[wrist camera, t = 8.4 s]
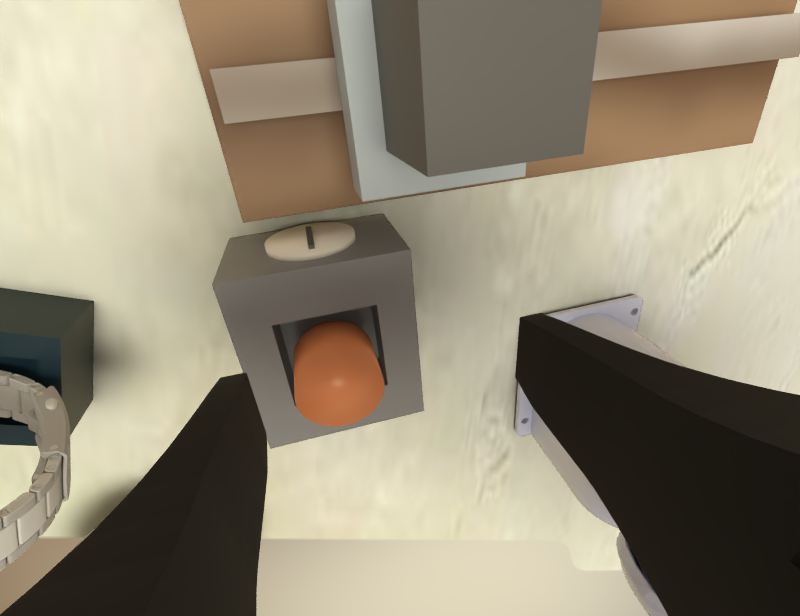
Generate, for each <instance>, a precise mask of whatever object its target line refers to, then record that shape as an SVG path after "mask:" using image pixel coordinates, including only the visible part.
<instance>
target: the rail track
mask: <svg viewBox="0 0 800 616" xmlns="http://www.w3.org/2000/svg"><path fill="white" fill-rule="evenodd" d="M179 2H180V6H181V9H182V12H183V16H184V19H185V23H186V26H187V30H188V33H189V37H190V40H191V44H192V47H193V50H194V54H195V57H196V61H197V64H198V68H199V71H200V75H201V78H202V82H203V85H204V88H205V92H206V95H207V99H208V102H209V106H210V109H211V113H212V116H213V119H214V123H215V126H216V130H217V133H218V137H219V140H220V144H221V147H222V151H223V154H224V157H225V161H226V164H227V168H228V171H229V175H230V178H231V182H232V185H233V189H234V192H235V195H236V199H237V202H238V206H239V209H240V213H241V216H242V220H243V223H244V222H250V221H257V220H263V219H269V218H276V217H282V216H289V215H295V214H301V213H308V212H314V211H321V210H327V209H333V208H340V207H346V206H352V205H359V204H365V203H372V202H378V201H384V200H391V199H397V198H404V197H410V196H416V195H423V194H429V193H435V192H442V191H448V190H455V189H461V188H467V187H474V186H480V185H487V184H493V183H499V182H506V181H512V180H518V179H525V178H531V177H538V176H544V175H550V174H557V173H563V172H570V171H576V170H582V169H589V168H595V167H601V166H608V165H614V164H621V163H627V162H633V161H640V160H646V159H653V158H659V157H665V156H672V155H678V154H684V153H691V152H697V151H704V150H710V149H716V148H723V147H729V146H736V145H742V144H748V143H753V140H754V137H755V134H756V131H757V127H758V124H759V121H760V118H761V115H762V111H763V108H764V105H765V102H766V99H767V95H768V92H769V89H770V86H771V83H772V80H773V76H774V73H775V70H776V67H777V64H778V60H779V59H783V58H792V57H799V54H800V13H794V9H795V6H796V3H797V0H602V7H601V15H600V23H599V31H598V39H597V47H596V55H595V64H594V72H593V80H592V88H591V96H590V104H589V112H588V120H587V128H586V136H585V145H584V153H583V154H580V155H573V156H566V157H560V158H553V159H546V160H539V161H533V162H526V174H525V177H519V178H512V179H506V180H499V181H493V182H487V183H480V184H474V185H467V186H461V187H455V188H448V189H442V190H435V191H429V192H422V193H416V194H410V195H403V196H397V197H390V198H384V199H377V200H371V201H365V202H362V200H361V199H360V197H359V196H358V194H357V193H356V191H355V190H354V185H353V178H352V171H351V164H350V157H349V150H348V143H347V137H346V130H345V123H344V116H343V109H342V102H341V95H340V88H339V82H338V75H337V68H336V61H335V54H334V47H333V40H332V33H331V27H330V20H329V13H328V6H327V0H179ZM793 13H794V14H793Z"/></svg>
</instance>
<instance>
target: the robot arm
mask: <svg viewBox="0 0 800 616" xmlns="http://www.w3.org/2000/svg"><path fill="white" fill-rule="evenodd" d="M642 303H643V300H642V298H640V297H639V296H637V295H632V296H628V297H623V298H619V299H614V300H609V301H605V302H600V303H596V304H591V305H586V306H582V307H577V308H573V309H568V310H564V311H559V312H554V313H550V314H542V313H539V314H534V315H529V316H524V317H520V324H519V337H518V350H517V362H516V375H515V377H516V379H517V381H518V391H517V406H516V422H515V432H516V433H517V435H518V436H526V435H529V434H532V436H533V437H534V438H535V440H536V441H537V443H538V444H539V445H540V447H541V448H542V450H543V451H544V453H545V454H546V455H547V457H548V458H549V460H550V461H551V462H552V464H553V465H554V467H555V468H556V470H557V471H558V472H559V474H560V475H561V477H562V478H563V479H564V481H565V482H566V484H567V485H568V486H569V488H570V489H571V491H572V492H573V494H574V495H575V496H576V498H577V499H578V500H579V502H580V503H581V504H582V505H583V506H584V507H585V508H586V509H587V510H588V511H589V512H591V513H592V514H593V515H594V516H596V517H597V518H599V519H601V520H602V521H604V522H606V523H607V524H609V525H612V526H614V527H616V528H619V530H620V531H621V532H620V533H619V535H618V537H617V550H618V555H619V557H620V561H621V566H622V569H623V572H624V575H625V577H626V579H627V581H628V583H629V585H630V587H631V589H632V591H633V592H634V594H635V596H636V597H637V599H638V600H639V602H640V603H641V605H642V606H643V608H644V609H645V610H646V612H647V613H648V614H649V616H800V395H796V394H791V393H786V392H781V391H776V390H771V389H767V388H763V387H758V386H754V385H749V384H745V383H741V382H736V381H733V380H729V379H725V378H721V377H717V376H713V375H710V374H707V373H703V372H700V371H696V370H693V369H689V368H686V367H685V366H683V365H682V364H681V363H679V362H678V361H676V360H675V359H673V358H672V357H671V356H669V355H668V354H666V353H665V352H663V351H662V350H661V349H659V348H658V347H656V346H655V345H653V344H652V343H651V342H649V341H648V340H646V339H645V338H643V337H642V336H641V335H639V334H638V333H636V329H637V325H638V321H639V316H640V312H641V308H642ZM266 483H267V433H266V430H265V427H264V424H263V421H262V418H261V415H260V412H259V409H258V406H257V403H256V400H255V397H254V394H253V391H252V388H251V385H250V382H249V379H248V376H247V372H246V373H241V374H236V375H232V376H227V377H222V378H220V379H219V380H218V382H217V383H216V384H215V386H214V387H213V388H212V389H211V391H210V392H209V394H208V395H207V396H206V398H205V399H204V401H203V402H202V403H201V405H200V406H199V407H198V409H197V410H196V412H195V413H194V414H193V416H192V417H191V418H190V420H189V421H188V423H187V424H186V425H185V426H184V428H183V429H182V430H181V432H180V433H179V434H178V436H177V437H176V438H175V440H174V441H173V442H172V444H171V445H170V446H169V447H168V449H167V450H166V451H165V452H164V453H163V455H162V456H161V457H160V458H159V459H158V461H157V462H156V463H155V464H154V465H153V467H152V468H151V469H150V470H149V472H148V473H147V474H146V475H145V476H144V478H143V479H142V480H141V481H140V482H139V483H138V484H137V486H136V487H135V488H134V489H133V490H132V491H131V492H130V493H129V494H128V495H127V496H126V498H125V499H124V500H123V501H122V502H121V503H120V504H119V505H118V506H117V507H116V508H115V509H114V510H113V511H112V512H111V513H110V514H109V515H108V516H107V517H106V518H105V519H104V520H103V521H102V522H101V523H100V524H99V526H98V527H97V528H95V529H94V530H93V531H92V532H91V533H90V534H89V535H88V536H87V537H86V538H85V539H84V540H83V541H82V542H81V543H80V544H79V545H78V546H77V547H75V548H74V549H73V550H72V551H71V552H70V553H69V554H68V555H67V556H66V557H65V558H64V559H63V560H61V561H60V562H59V563H58V564H57V565H56V566H55V567H54V568H53V569H52V570H51V571H50V572H48V573H47V574H46V575H45V576H44V577H43V578H42V579H41V580H40V581H39V582H38V583H36V584H35V585H34V586H33V587H32V588H31V589H30V590H28V591H27V592H26V593H25V594H24V595H23V596H21V597H20V598H19V599H18V600H17V601H16V602H14V603H13V604H12V605H11V606H10V607H9V608H7V609H6V610H5V611H4V612H3V613H2V614H0V616H256V587H257V572H258V571H257V570H258V560H259V549H260V541H261V531H262V522H263V512H264V503H265V493H266Z"/></svg>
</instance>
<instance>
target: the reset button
mask: <svg viewBox="0 0 800 616" xmlns="http://www.w3.org/2000/svg"><path fill="white" fill-rule="evenodd" d="M293 363H294V398H295V403H296V406H297V408H298V410H299V411H300V413H301V414H302V415H303V416H304V417H305V418H307V419H308V420H310V421H312V422H314V423H316V424H319V425H323V426H330V427H337V426H345V425H349V424H353V423H355V422H358V421H360V420H362V419H363V418H365V417H367V416H368V415H369V414H370V413H372V412H373V411H374V410H375V409H376V407H377V406H378V405H379V403H380V401H381V399H382V397H383V394H384V388H385V384H384V378H383V375H382V372H381V369H380V366H379V363H378V360H377V357H376V354H375V351H374V348H373V345H372V342H371V340H370V338H369V336H368V335H367V333H366V332H365V331H364V330H363V329H362V328H360V327H359V326H357V325H355V324H353V323H350V322H346V321H339V320H334V321H326V322H322V323H320V324H317V325H315V326H313V327H311V328H310V329H308V330H307V331H306V332H305V333H303V335H302V336H301V337H300V338H299V340H298V341H297V343H296V345H295V348H294V353H293Z"/></svg>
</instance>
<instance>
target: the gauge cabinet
mask: <svg viewBox="0 0 800 616" xmlns="http://www.w3.org/2000/svg"><path fill="white" fill-rule="evenodd" d="M212 286H213V289H214V292H215V294H216V297H217V300H218V303H219V306H220V308H221V311H222V314H223V317H224V320H225V323H226V325H227V328H228V331H229V334H230V337H231V339H232V342H233V345H234V348H235V351H236V353H237V356H238V359H239V362H240V365H241V367H242V370H243V373H246V372H247V376H248V379H249V382H250V385H251V388H252V391H253V394H254V397H255V400H256V403H257V406H258V409H259V412H260V415H261V418H262V421H263V424H264V427H265V430H266V433H267V440H268V443H269V446H270V449H271V448H275V447H279V446H283V445H287V444H291V443H295V442H299V441H303V440H307V439H311V438H315V437H319V436H324V435H328V434H332V433H336V432H340V431H344V430H348V429H352V428H356V427H360V426H364V425H368V424H372V423H376V422H380V421H384V420H388V419H392V418H396V417H400V416H404V415H408V414H412V413H417V412H421V411H424V405H423V394H422V382H421V370H420V358H419V346H418V334H417V322H416V311H415V299H414V287H413V275H412V263H411V251H410V248H409V247H408V246H407V244H406V243H405V242H404V241H403V239H402V238H401V237H400V235H399V234H398V233H397V231H396V230H395V229H394V228H393V226H392V225H391V224H390V222H389V221H388V220H387V218H386V217H385V216H384V214H377V215H371V216H365V217H359V218H353V219H347V220H340V221H334V222H317V223H309V224H303V225H299V226H295V227H291V228H288V229H285V230H279V231H272V232H266V233H260V234H254V235H248V236H242V237H235V238H229V241H228V244H227V246H226V249H225V252H224V255H223V257H222V260H221V263H220V265H219V268H218V271H217V273H216V276H215V279H214V281H213V284H212ZM334 320H339V321H346V322H350V323H353V324H355V325H357V326H359V327H360V328H362V329H363V330H364V331H365V332H366V333H367V335H368V336H369V338H370V340H371V342H372V345H373V348H374V351H375V354H376V357H377V360H378V363H379V366H380V369H381V372H382V375H383V378H384V384H385V388H384V394H383V397H382V399H381V401H380V403H379V405H378V406H377V407H376V409H375V410H374V411H373V412H372V413H370V414H369V415H368V416H367V417H365V418H363V419H362V420H360V421H358V422H355V423H353V424H349V425H345V426H337V427H330V426H323V425H319V424H316V423H314V422H312V421H310V420H308V419H307V418H305V417H304V416H303V415H302V414H301V413H300V411H299V410H298V408H297V406H296V403H295V398H294V363H293V353H294V348H295V345H296V343H297V341H298V340H299V338H300V337H301V336H302V335H303V333H305V332H306V331H307V330H308V329H310V328H311V327H313V326H315V325H317V324H320V323H322V322H326V321H334Z"/></svg>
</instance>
